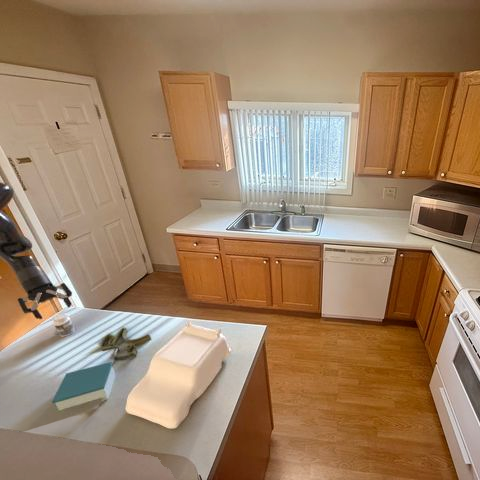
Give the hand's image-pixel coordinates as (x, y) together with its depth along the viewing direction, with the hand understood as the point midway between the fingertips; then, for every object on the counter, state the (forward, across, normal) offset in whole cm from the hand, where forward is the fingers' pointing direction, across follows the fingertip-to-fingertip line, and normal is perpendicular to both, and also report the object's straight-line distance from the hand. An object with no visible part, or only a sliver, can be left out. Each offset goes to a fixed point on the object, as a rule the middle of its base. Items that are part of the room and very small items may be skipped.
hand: (55, 312), depth 102 cm
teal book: (+36, -6, -24) cm, 44 cm away
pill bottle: (+9, 0, +4) cm, 10 cm away
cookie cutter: (+28, +9, -15) cm, 33 cm away
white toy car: (+51, +13, -38) cm, 65 cm away
